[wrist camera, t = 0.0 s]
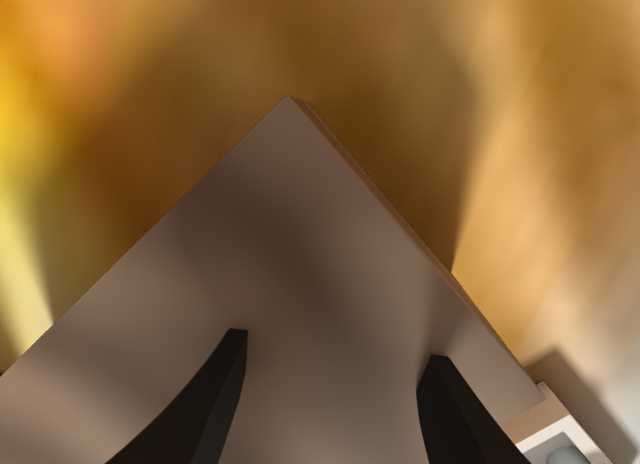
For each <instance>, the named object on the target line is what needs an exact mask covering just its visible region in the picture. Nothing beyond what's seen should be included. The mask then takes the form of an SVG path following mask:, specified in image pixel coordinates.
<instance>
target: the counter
mask: <svg viewBox="0 0 640 464" xmlns="http://www.w3.org/2000/svg"><path fill="white" fill-rule="evenodd" d="M230 328H233V329H241V330H248V342H247V361H246V373H245V377H244V382H243V386H242V390H241V395H240V399H239V402H238V405H237V408H236V411H235V414H234V417H233V420H232V423H231V426H230V429H229V432H228V435H227V438H226V441H225V444H224V447H223V450H222V453H221V456H220V459H219V462H218V464H429V461H428V457H427V453H426V449H425V445H424V440H423V436H422V432H421V427H420V423H419V416H418V408H417V399H416V391H417V388H418V385H419V383H420V381H421V378H422V376H423V373H424V371H425V369H426V366H427V364H428V362H429V359H430V357H431V354H433V355H441V356H448V357H449V358H450V359H451V361H452V362H453V363H454V365H455V366H456V368H457V369H458V370H459V372H460V373H461V375H462V376H463V378H464V379H465V380H466V382H467V383H468V385H469V386H470V387H471V389H472V390H473V392H474V393H475V394H476V396H477V397H478V398H479V400H480V401H481V402H482V404H483V405H484V406H485V408H486V409H487V410H488V412H489V413H490V414H491V416H492V417H493V418H494V420H495V421H496V422H497V423H498V425H499V426H501V425H503V424H504V423H506V422H508V421H510V420H511V419H513V418H515V417H517V416H518V415H520V414H522V413H524V412H525V411H527V410H529V409H531V408H532V407H534V406H536V405H537V404H539V403H541V402H543V401H544V400H546V397H545V396H544V395H543V393H542V392H541V391H540V389H539V388H538V387H537V385H536V384H535V383H534V381H533V380H532V379H531V377H530V376H529V375H528V374H527V372H526V371H525V370H524V368H523V367H522V366H521V364H520V363H519V362H518V360H517V359H516V358H515V356H514V355H513V354H512V352H511V351H510V350H509V348H508V347H507V346H506V344H505V343H504V342H503V340H502V339H501V338H500V337H499V335H498V334H497V333H496V331H495V330H494V329H493V327H492V326H491V325H490V323H489V322H488V321H487V319H486V318H485V317H484V315H483V314H482V313H481V311H480V310H479V309H478V307H477V306H476V305H475V304H474V302H473V301H472V300H471V298H470V297H469V296H468V294H467V293H466V292H465V290H464V289H463V288H462V286H461V285H460V284H459V282H458V281H457V280H456V278H455V277H454V276H453V274H452V273H451V272H450V271H449V270H448V268H447V267H446V266H445V265H444V264H443V263H442V261H441V260H440V259H439V258H438V257H437V255H436V254H435V253H434V252H433V251H432V250H431V248H430V247H429V246H428V245H427V244H426V242H425V241H424V240H423V239H422V238H421V237H420V235H419V234H418V233H417V232H416V231H415V230H414V228H413V227H412V226H411V225H410V224H409V222H408V221H407V220H406V219H405V218H404V217H403V215H402V214H401V213H400V212H399V211H398V210H397V208H396V207H395V206H394V205H393V204H392V202H391V201H390V200H389V199H388V198H387V197H386V195H385V194H384V193H383V192H382V191H381V189H380V188H379V187H378V186H377V185H376V184H375V182H374V181H373V180H372V179H371V178H370V177H369V175H368V174H367V173H366V172H365V171H364V169H363V168H362V167H361V166H360V165H359V164H358V162H357V161H356V160H355V159H354V158H353V156H352V155H351V154H350V153H349V152H348V151H347V149H346V148H345V147H344V146H343V145H342V144H341V142H340V141H339V140H338V139H337V138H336V136H335V135H334V134H333V133H332V132H331V131H330V129H329V128H328V127H327V126H326V125H325V123H324V122H323V121H322V120H321V119H320V118H319V116H318V115H317V114H316V113H315V112H314V111H313V109H312V108H311V107H310V106H309V105H308V103H307V102H306V101H303V100H299V99H295V98H292V97H288V96H285V97H284V98H283V99H282V100H281V101H280V102H279V103H278V104H277V105H276V106H275V107H274V108H273V109H272V110H271V111H270V112H269V113H268V114H266V115H265V116H264V117H263V118H262V119H261V120H260V121H259V122H258V123H257V124H256V125H255V126H254V127H253V128H252V129H251V130H250V131H249V132H248V133H247V134H246V135H245V136H244V137H243V138H242V139H241V140H240V141H239V142H238V143H237V144H236V145H235V146H234V147H233V148H232V149H231V150H230V151H229V152H228V153H227V154H226V155H225V156H224V157H223V158H222V159H221V160H220V161H219V162H218V163H217V164H216V165H215V166H214V167H213V168H212V169H211V170H210V171H209V172H208V173H207V174H206V175H205V176H204V177H203V178H202V179H201V180H200V181H198V182H197V183H196V184H195V185H194V186H193V187H192V188H191V189H190V190H189V191H188V192H187V193H186V194H185V195H184V196H183V197H182V198H181V199H180V200H179V201H178V202H177V203H176V204H175V205H174V206H173V207H172V208H171V209H170V210H169V211H168V212H167V213H166V214H165V215H164V216H163V217H162V218H161V219H160V220H159V221H158V222H157V223H156V224H155V225H154V226H153V227H152V228H151V229H150V230H149V231H148V232H147V233H146V234H145V235H144V236H143V237H142V238H141V239H140V240H139V241H138V242H137V243H136V244H135V245H134V246H133V247H132V248H130V249H129V250H128V251H127V252H126V253H125V254H124V255H123V256H122V257H121V258H120V259H119V260H118V261H117V262H116V263H115V264H114V265H113V266H112V267H111V268H110V269H109V270H108V271H107V272H106V273H105V274H104V275H103V276H102V277H101V278H100V279H99V280H98V281H97V282H96V283H95V284H94V285H93V286H92V287H91V288H90V289H89V290H88V291H87V292H86V293H85V294H84V295H83V296H82V297H81V298H80V299H79V300H78V301H77V302H76V303H75V304H74V305H73V306H72V307H71V308H70V309H69V310H68V311H67V312H66V313H65V314H64V315H62V316H61V317H60V318H59V319H58V320H57V321H56V322H55V323H54V324H53V325H52V326H51V327H50V328H49V329H48V330H47V331H46V332H45V333H44V334H43V335H42V336H41V337H40V338H39V339H38V340H37V341H36V342H35V343H34V344H33V345H32V346H31V347H30V348H29V349H28V350H27V351H26V352H25V353H24V354H23V355H22V356H21V357H20V358H19V359H18V360H17V361H16V362H15V363H14V364H13V365H12V366H11V367H10V368H9V369H8V370H7V371H6V372H5V373H4V374H3V375H2V376H1V377H0V464H104V463H106V462H107V461H108V460H109V459H111V458H112V457H113V456H114V455H115V454H116V453H118V452H119V451H120V450H121V449H122V448H123V447H125V446H126V445H127V444H128V443H129V442H130V441H131V440H132V439H133V438H134V437H136V436H137V435H138V434H139V433H140V432H141V431H142V430H143V429H144V428H145V427H146V426H147V425H149V424H150V423H151V422H152V421H153V420H154V419H155V418H156V417H157V416H158V415H159V414H160V413H161V412H162V411H163V410H164V409H165V408H166V407H167V405H168V404H169V403H170V402H171V401H172V400H173V399H174V398H175V397H176V396H177V395H178V394H179V392H180V391H181V390H182V389H183V388H184V387H185V386H186V385H187V383H188V382H189V381H190V380H191V379H192V378H193V376H194V375H195V374H196V373H197V371H198V370H199V369H200V368H201V366H202V365H203V364H204V363H205V362H206V360H207V359H208V358H209V356H210V355H211V354H212V352H213V351H214V350H215V348H216V347H217V345H218V344H219V342H220V341H221V339H222V338H223V336H224V335H225V333H226V331H227V330H228V329H230Z"/></svg>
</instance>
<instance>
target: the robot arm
mask: <svg viewBox="0 0 640 464" xmlns="http://www.w3.org/2000/svg"><path fill="white" fill-rule="evenodd" d="M247 342H248V330H241V329H233V328H230V329H228V330H227V331H226V333H225V335H224V336H223V338H222V339H221V341H220V342H219V344H218V345H217V347H216V348H215V350H214V351H213V352H212V354H211V355H210V356H209V358H208V359H207V360H206V362H205V363H204V364H203V365H202V366H201V368H200V369H199V370H198V371H197V373H196V374H195V375H194V376H193V378H192V379H191V380H190V381H189V382H188V383H187V385H186V386H185V387H184V388H183V389H182V390H181V391H180V392H179V394H178V395H177V396H176V397H175V398H174V399H173V400H172V401H171V402H170V403H169V404H168V405H167V407H166V408H165V409H164V410H163V411H162V412H161V413H160V414H159V415H158V416H157V417H156V418H155V419H154V420H153V421H152V422H151V423H150V424H149V425H147V426H146V427H145V428H144V429H143V430H142V431H141V432H140V433H139V434H138V435H137V436H136V437H134V438H133V439H132V440H131V441H130V442H129V443H128V444H127V445H126V446H125V447H123V448H122V449H121V450H120V451H119V452H118V453H116V454H115V455H114V456H113V457H112V458H111V459H109V460H108V461H107V462H106V463H104V464H218V462H219V459H220V456H221V453H222V450H223V447H224V444H225V441H226V438H227V435H228V432H229V429H230V426H231V423H232V420H233V417H234V414H235V411H236V408H237V405H238V402H239V399H240V395H241V390H242V386H243V382H244V377H245V373H246V361H247ZM416 399H417V408H418V416H419V423H420V427H421V432H422V436H423V440H424V445H425V449H426V453H427V457H428V461H429V464H531V462H530V461H529V460H528V459H527V458H526V457H525V456H524V455H523V454H522V452H521V451H520V450H519V449H518V448H517V447H516V445H515V444H514V443H513V442H512V441H511V439H510V438H509V437H508V436H507V435H506V433H505V432H504V431H503V430H502V428H501V427H500V426H499V425H498V423H497V422H496V421H495V420H494V418H493V417H492V416H491V414H490V413H489V412H488V410H487V409H486V408H485V406H484V405H483V404H482V402H481V401H480V400H479V398H478V397H477V396H476V394H475V393H474V392H473V390H472V389H471V387H470V386H469V385H468V383H467V382H466V380H465V379H464V378H463V376H462V375H461V373H460V372H459V370H458V369H457V368H456V366H455V365H454V363H453V362H452V361H451V359H450V358H449V357H448V356H441V355H433V354H431V357H430V359H429V362H428V364H427V366H426V369H425V371H424V373H423V376H422V378H421V381H420V383H419V385H418V388H417V391H416Z"/></svg>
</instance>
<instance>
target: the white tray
mask: <svg viewBox="0 0 640 464" xmlns="http://www.w3.org/2000/svg"><path fill="white" fill-rule="evenodd" d="M536 385H537V387H538V388H539V389H540V391H541V392H542V393H543V395H544V396H545V397H546V400H544V401H543V402H541V403H539V404H537V405H536V406H534V407H532V408H531V409H529V410H527V411H525V412H524V413H522V414H520V415H518V416H517V417H515V418H513V419H511V420H510V421H508V422H506V423H504V424H503V425H501V426H500V427H501V428H502V430H503V431H504V432H505V433H506V435H507V436H508V437H509V438H510V439H511V441H512V442H513V443H514V444H515V445H516V447H517V448H518V449H519V450H520V451H521V452H522V454H523V455H524V456H525V457H526V458H527V459H528V460H529V461H530V462H531V464H613V463H612V462H611V460H610V459H609V458H608V457H607V456H606V455H605V453H604V452H603V451H602V450H601V449H600V448H599V446H598V445H597V444H596V443H595V442H594V440H593V439H592V438H591V437H590V436H589V435H588V433H587V432H586V431H585V430H584V429H583V427H582V426H581V425H580V424H579V423H578V422H577V420H576V419H575V418H574V417H573V416H572V415H571V413H570V412H569V411H568V410H567V409H566V407H565V406H564V405H563V404H562V403H561V402H560V400H559V399H558V398H557V397H556V396H555V394H554V393H553V392H552V391H551V390H550V389H549V387H548V386H547V385H546V384H545V383H544V382H543V381H541V382H540V383H538V384H536Z"/></svg>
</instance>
